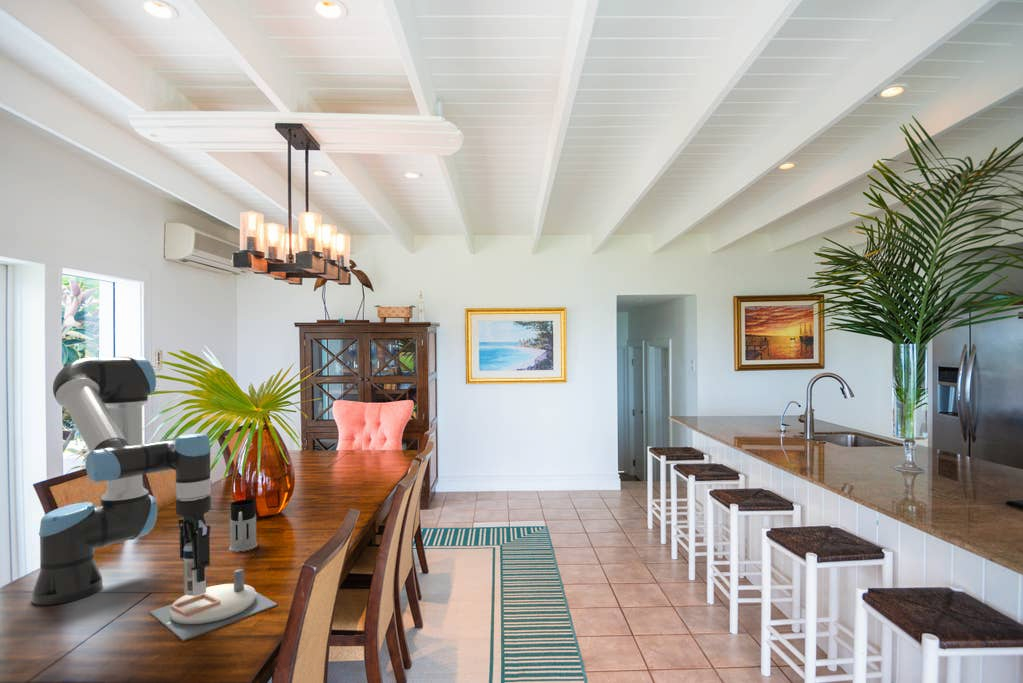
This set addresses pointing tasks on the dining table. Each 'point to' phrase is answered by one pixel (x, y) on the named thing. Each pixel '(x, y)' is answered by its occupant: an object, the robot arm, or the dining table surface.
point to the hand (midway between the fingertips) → (195, 591)
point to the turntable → (214, 602)
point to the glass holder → (243, 525)
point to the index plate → (197, 629)
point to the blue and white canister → (188, 568)
